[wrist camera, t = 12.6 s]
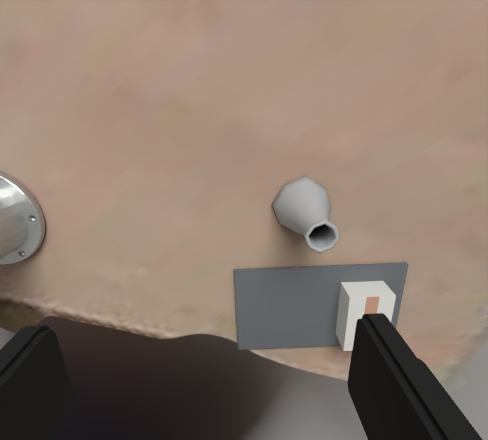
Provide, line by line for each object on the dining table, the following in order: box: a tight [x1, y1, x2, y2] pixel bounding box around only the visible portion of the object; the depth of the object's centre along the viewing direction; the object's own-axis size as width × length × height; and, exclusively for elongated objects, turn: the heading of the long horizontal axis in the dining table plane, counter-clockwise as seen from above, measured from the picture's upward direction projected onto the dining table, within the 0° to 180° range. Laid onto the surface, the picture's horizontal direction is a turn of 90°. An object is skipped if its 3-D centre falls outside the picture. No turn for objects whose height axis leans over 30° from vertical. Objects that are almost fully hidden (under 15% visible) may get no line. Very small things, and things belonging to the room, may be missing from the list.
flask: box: [272, 176, 340, 253], centre depth 32 cm, size 7×7×10 cm
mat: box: [234, 263, 408, 350], centre depth 42 cm, size 24×14×1 cm, turn 92°
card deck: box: [336, 281, 396, 351], centre depth 40 cm, size 9×6×4 cm, turn 2°
